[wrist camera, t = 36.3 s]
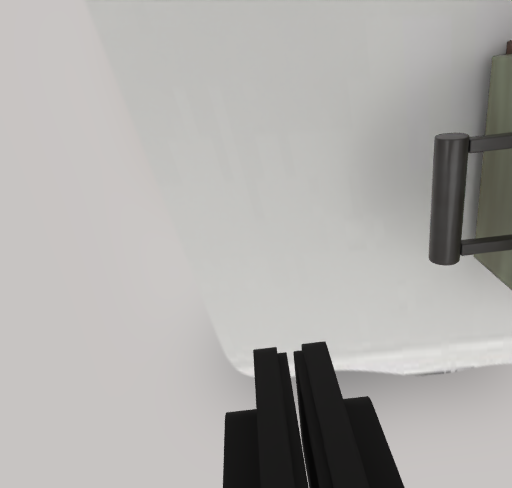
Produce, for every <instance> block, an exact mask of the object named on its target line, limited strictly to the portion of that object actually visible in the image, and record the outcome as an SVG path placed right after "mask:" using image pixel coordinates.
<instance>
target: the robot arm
mask: <svg viewBox="0 0 512 488" xmlns="http://www.w3.org/2000/svg"><path fill="white" fill-rule="evenodd" d="M253 353H254V371H255V388H256V407H257V409H253V410H246V411H236V412H227V413H226V415H225V437H224V471H223V488H308V482H309V488H404V485H403V483H402V480H401V478H400V475H399V472H398V470H397V467H396V464H395V462H394V459H393V456H392V454H391V451H390V449H389V446H388V443H387V441H386V438H385V435H384V433H383V430H382V428H381V425H380V423H379V420H378V417H377V414H376V412H375V409H374V407H373V405H372V402H371V400H370V398H369V397H368V396H367V397H358V398H349V399H343V398H342V394H341V391H340V388H339V384H338V381H337V378H336V374H335V371H334V368H333V365H332V361H331V358H330V355H329V351H328V348H327V345H326V342H316V343H308V344H302V351H294V363H295V374H296V384H297V395H298V405H299V416H300V427H301V437H302V445H303V451H302V445H301V439H300V433H299V427H298V421H297V414H296V408H295V402H294V396H293V391H292V384H291V378H290V372H289V366H288V359H287V354H286V352H285V353H277V348H276V347H273V348H265V349H256V350H253ZM303 452H304V457H303ZM304 458H305V464H306V469H305V464H304ZM305 470H307V476H308V482H307V476H306V471H305Z"/></svg>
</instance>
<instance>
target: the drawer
mask: <svg viewBox="0 0 512 488" xmlns="http://www.w3.org/2000/svg"><path fill="white" fill-rule="evenodd" d="M476 152H483V161H482V172H481V182H480V193H479V204H478V214H477V225H476V236H475V239H467V240H461V235H462V223H463V210H464V198H465V186H466V173H467V161H468V153H476ZM472 254H474V257H475V258H476V259H477V260H478V261H479V262H480V263H481V264H483V265H484V266H485V267H486V268H487V269H488V270H489V271H491V272H492V273H493V274H494V275H495V276H496V277H497V278H498V279H500V280H501V281H502V282H503V283H504V284H505V285H506V286H508V287H509V288H510V289H511V290H512V54H507V55H498V56H493V57H492V65H491V76H490V86H489V97H488V108H487V118H486V129H485V135H483V136H475V137H469V135H468V134H464V133H445V134H439V135H437V136H435V138H434V159H433V179H432V199H431V220H430V240H429V260H430V261H431V262H433V263H435V264H439V265H453V264H456V263H458V262H459V260H460V255H462V256H464V255H472Z"/></svg>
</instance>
